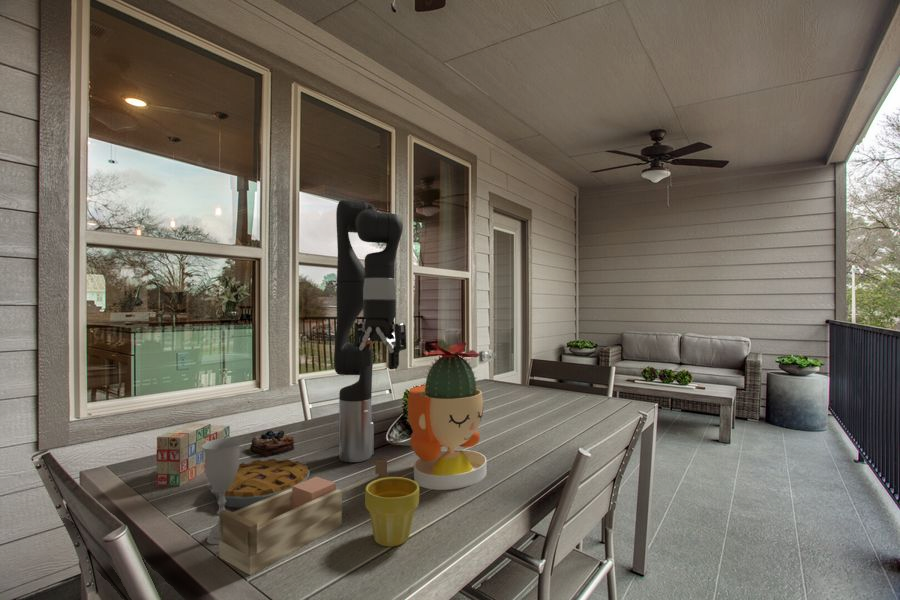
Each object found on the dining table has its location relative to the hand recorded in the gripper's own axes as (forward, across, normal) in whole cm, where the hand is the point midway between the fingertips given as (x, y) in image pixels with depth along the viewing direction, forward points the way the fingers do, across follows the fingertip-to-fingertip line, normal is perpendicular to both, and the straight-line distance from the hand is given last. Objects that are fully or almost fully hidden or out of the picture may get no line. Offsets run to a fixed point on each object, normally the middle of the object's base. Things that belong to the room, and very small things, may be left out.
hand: (379, 367), depth 104 cm
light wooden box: (+30, +2, +24) cm, 39 cm away
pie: (+31, +26, +13) cm, 42 cm away
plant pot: (+30, -14, +12) cm, 36 cm away
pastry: (+31, +50, -7) cm, 59 cm away
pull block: (+28, +2, +8) cm, 29 cm away
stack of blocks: (+30, +53, +15) cm, 63 cm away
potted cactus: (+30, -4, -21) cm, 37 cm away
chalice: (+30, +13, +30) cm, 45 cm away
